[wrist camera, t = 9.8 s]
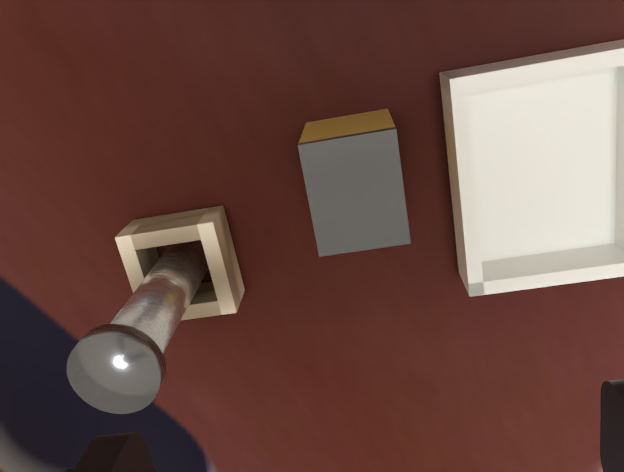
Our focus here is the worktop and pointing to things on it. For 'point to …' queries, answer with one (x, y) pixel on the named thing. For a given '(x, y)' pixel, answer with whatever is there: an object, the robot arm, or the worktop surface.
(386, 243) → the block
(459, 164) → the tray
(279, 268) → the worktop surface
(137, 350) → the pin
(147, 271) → the holder
